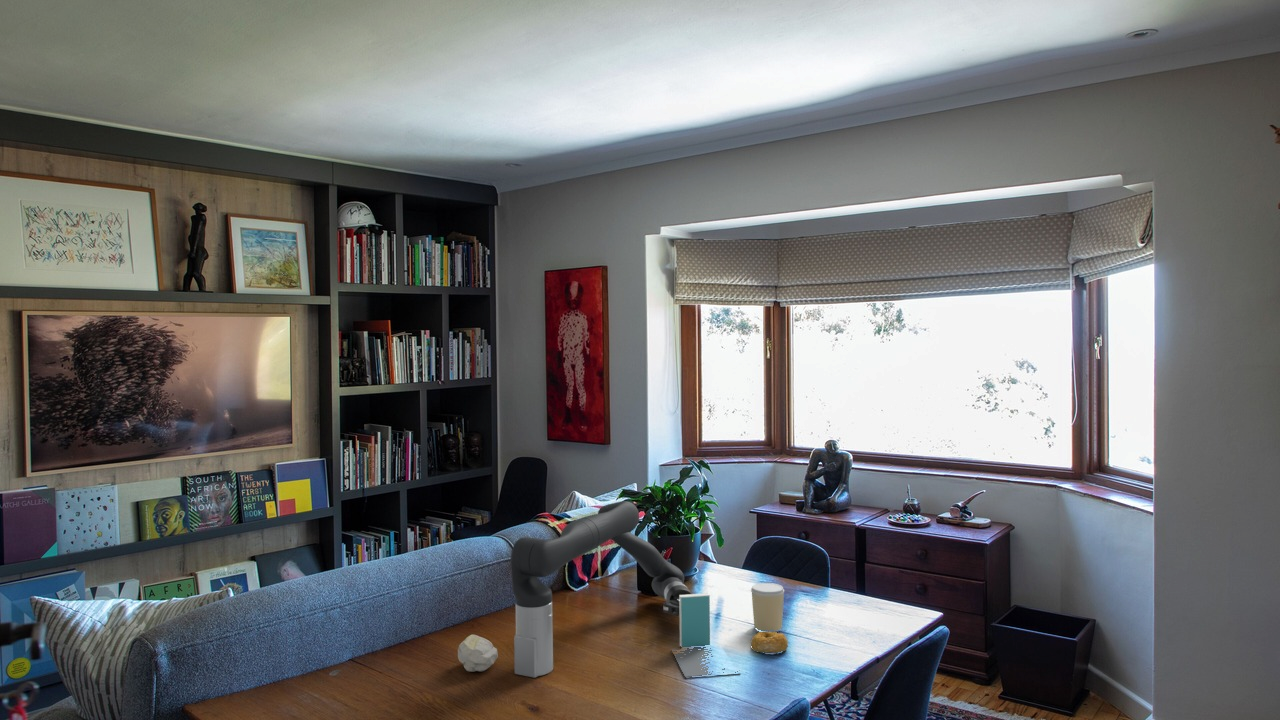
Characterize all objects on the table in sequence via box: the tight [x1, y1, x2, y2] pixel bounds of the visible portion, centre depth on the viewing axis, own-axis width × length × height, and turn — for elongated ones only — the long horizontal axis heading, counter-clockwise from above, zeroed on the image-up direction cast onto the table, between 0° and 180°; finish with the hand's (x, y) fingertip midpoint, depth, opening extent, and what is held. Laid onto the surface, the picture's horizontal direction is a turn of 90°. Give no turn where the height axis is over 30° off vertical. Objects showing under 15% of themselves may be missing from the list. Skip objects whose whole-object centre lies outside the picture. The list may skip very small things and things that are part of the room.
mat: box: [671, 647, 738, 678], centre depth 207 cm, size 18×14×1 cm
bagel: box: [750, 631, 789, 653], centre depth 216 cm, size 10×11×5 cm
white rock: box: [457, 634, 499, 672], centre depth 205 cm, size 12×8×10 cm
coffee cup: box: [750, 582, 785, 632], centre depth 231 cm, size 9×9×12 cm
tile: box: [678, 592, 711, 647], centre depth 218 cm, size 2×8×14 cm, turn 99°
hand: (691, 616), depth 222 cm, fingers closed
